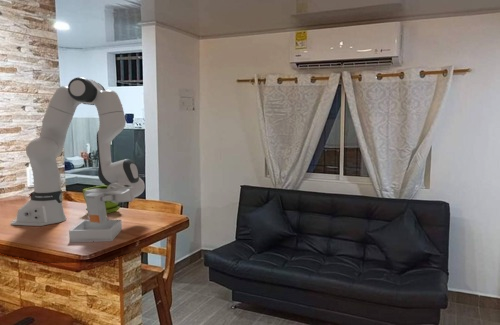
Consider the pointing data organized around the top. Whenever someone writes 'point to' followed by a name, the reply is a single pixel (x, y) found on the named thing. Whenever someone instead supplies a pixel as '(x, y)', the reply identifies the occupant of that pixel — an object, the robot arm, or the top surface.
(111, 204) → the flower pot
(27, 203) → the robot arm
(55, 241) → the top surface
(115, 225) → the grey square tray
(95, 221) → the skincare box
